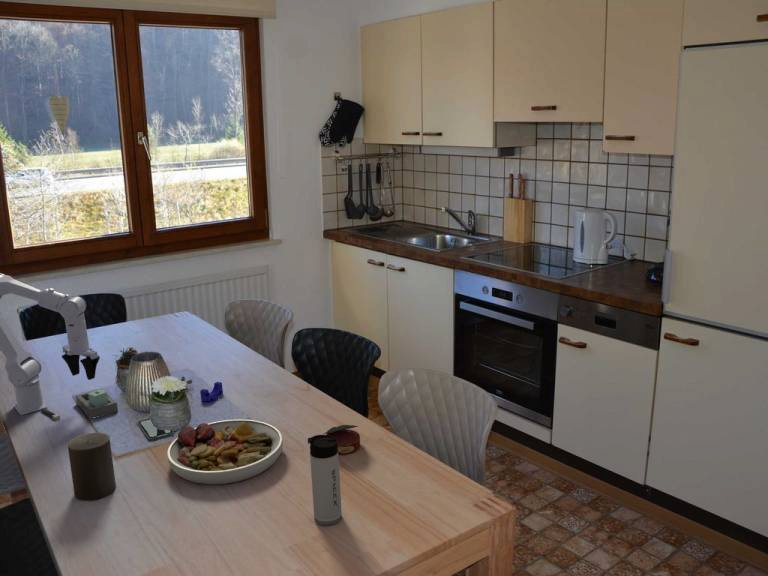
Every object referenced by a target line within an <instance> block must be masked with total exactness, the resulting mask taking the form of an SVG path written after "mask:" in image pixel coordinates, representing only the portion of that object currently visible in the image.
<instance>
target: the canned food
mask: <svg viewBox="0 0 768 576" xmlns="http://www.w3.org/2000/svg"><path fill="white" fill-rule="evenodd" d="M353 428H358V425H355V424H354V425H353V424H342V425H341V424H340V425H339V426H333V427H331V428H329V429H328V430H327V431H325V432H324V433H323V435H329V436H332V437H334V438H335V439H336V441H337V444H338V456H348V455H352V454H354V453H356V452H358V451H359V450H360V448H361V439H360V438H361V435H360V433H359V432H357V431H356V430H353Z"/></svg>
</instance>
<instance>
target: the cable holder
mask: <svg viewBox="0 0 768 576" xmlns="http://www.w3.org/2000/svg"><path fill="white" fill-rule="evenodd" d="M223 390H224V389H223V382H221V381H216V382H214V383H213V388H212V390H211V392H209V389H206V388H202V389H200V400H201V402H202V403H208V404H211V403H213V402H214V401H218V400H219V396H222V394H224V391H223ZM201 402H200V403H201Z"/></svg>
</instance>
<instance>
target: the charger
mask: <svg viewBox="0 0 768 576" xmlns="http://www.w3.org/2000/svg"><path fill="white" fill-rule="evenodd" d="M98 389H99V390H98ZM98 389H95V390H96V391H94V390H92V391H93V392H91V391H90V392H91V393H88V397H89V404H90V405H91V406H92V407H93V408H94V407H97V406H101V405H104V404H108V398H107V395H108V392H107V391H106V390H103V389H102V390H100V389H101V388H98Z"/></svg>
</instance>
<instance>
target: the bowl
mask: <svg viewBox="0 0 768 576" xmlns="http://www.w3.org/2000/svg"><path fill="white" fill-rule="evenodd" d="M283 445H284V441H283V435H282V432H281V431H280V430H279V429H278V428H277V427H275V426H274V425H271V424H270V423H267V422H264V421H260V420H253V419H238V418H237V419H226V420H219V421H215V422H214V421H213V422H209V423H205V422H202V423H199V424H198V425H197V426H196V427H192V426H186V427H183V429H181V430H180V431H179V432H178V434H177V437H176V438H175V439H174V440H173V441H172V442H171V443H170V444H169V446H168V447H167V452H166V455H167V461H168V462H167V463H168V464H169V466H170V468H171V469H172V471H173V472H174V473H175V474H177V476H179V477H181V478H182V479H184V480H187V481H189V482H192V483H196V484H204V485H224V484H231V483H236V482H241V481H243V480H244V481H245V480H247V479H250V478H253V477H255V476H258V475H259V474H261V473H263V472H265V471H266V470H267V469H269V468H270V467H271V466H272V465H274V463H276V461H277V460H278V458H280V457H279V456H280V455H281V453H282V450H283Z"/></svg>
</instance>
